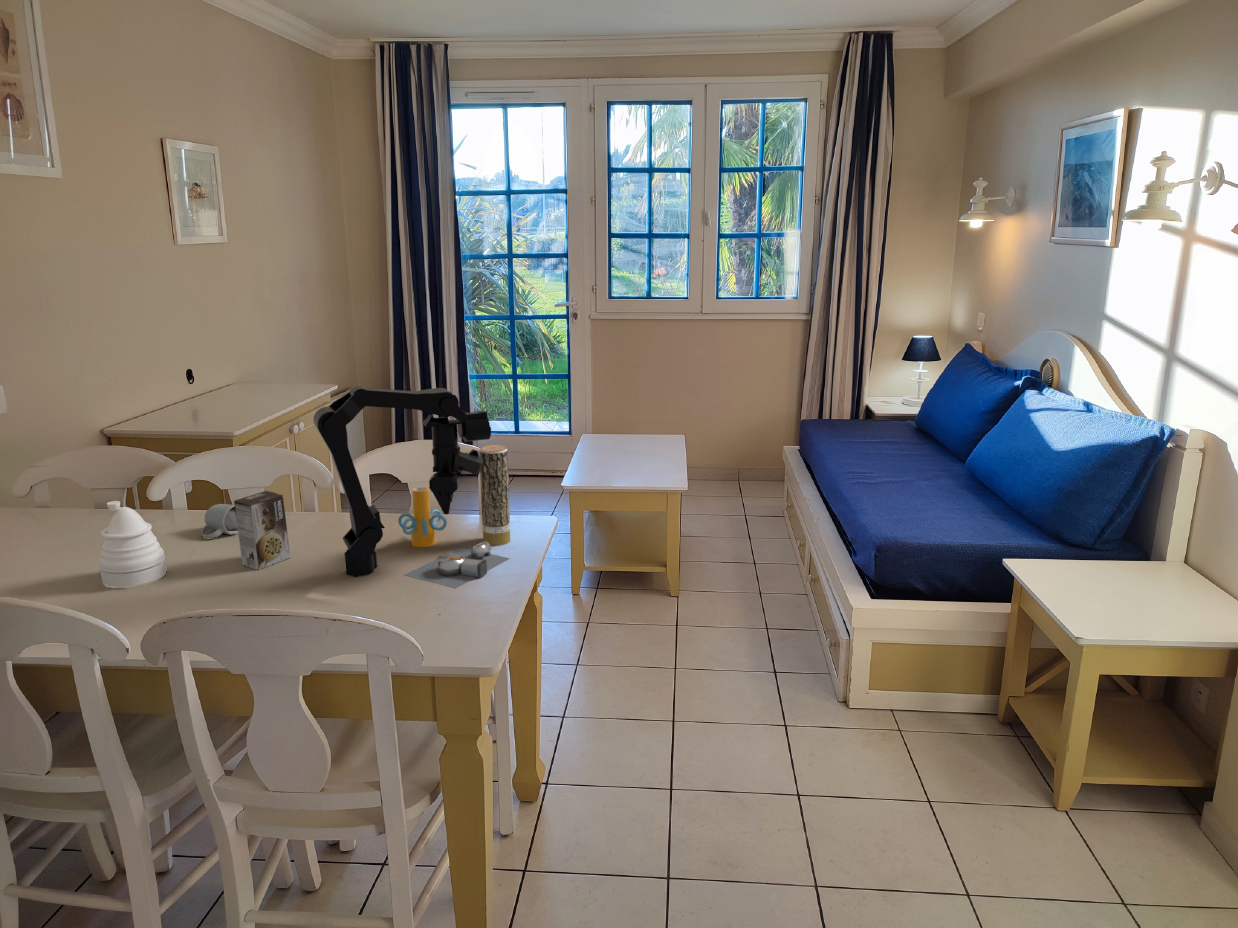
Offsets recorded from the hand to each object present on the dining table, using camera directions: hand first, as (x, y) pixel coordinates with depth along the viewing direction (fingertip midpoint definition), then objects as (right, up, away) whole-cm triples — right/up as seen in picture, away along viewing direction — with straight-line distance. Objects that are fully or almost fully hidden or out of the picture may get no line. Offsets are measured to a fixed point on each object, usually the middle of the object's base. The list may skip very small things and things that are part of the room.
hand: (448, 507), depth 199 cm
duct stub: (+7, -12, +3) cm, 14 cm away
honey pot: (-70, -16, -7) cm, 72 cm away
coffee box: (-44, -13, +2) cm, 46 cm away
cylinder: (-8, -10, +12) cm, 18 cm away
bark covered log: (+10, -10, +14) cm, 19 cm away
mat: (+3, -14, -3) cm, 15 cm away
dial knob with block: (+4, -14, -7) cm, 16 cm away
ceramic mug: (-63, -8, +21) cm, 67 cm away
